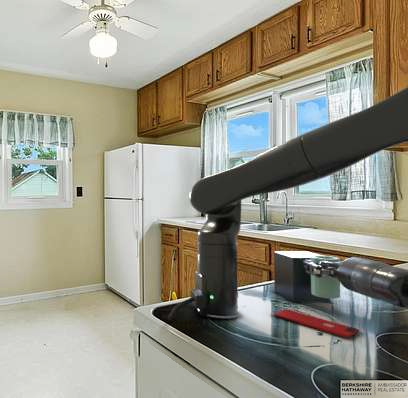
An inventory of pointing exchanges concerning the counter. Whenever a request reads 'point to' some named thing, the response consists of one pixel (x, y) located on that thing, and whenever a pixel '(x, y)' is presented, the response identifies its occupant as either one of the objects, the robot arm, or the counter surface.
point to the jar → (325, 280)
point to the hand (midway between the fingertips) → (318, 263)
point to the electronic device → (317, 323)
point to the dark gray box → (294, 277)
